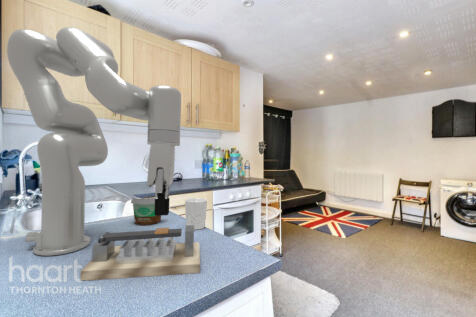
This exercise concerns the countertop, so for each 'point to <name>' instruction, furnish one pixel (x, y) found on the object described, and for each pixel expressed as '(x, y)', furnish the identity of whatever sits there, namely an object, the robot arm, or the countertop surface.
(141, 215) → the food container
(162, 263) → the board
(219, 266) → the countertop surface
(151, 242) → the heat sink
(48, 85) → the robot arm
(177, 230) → the strap
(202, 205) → the white cup
